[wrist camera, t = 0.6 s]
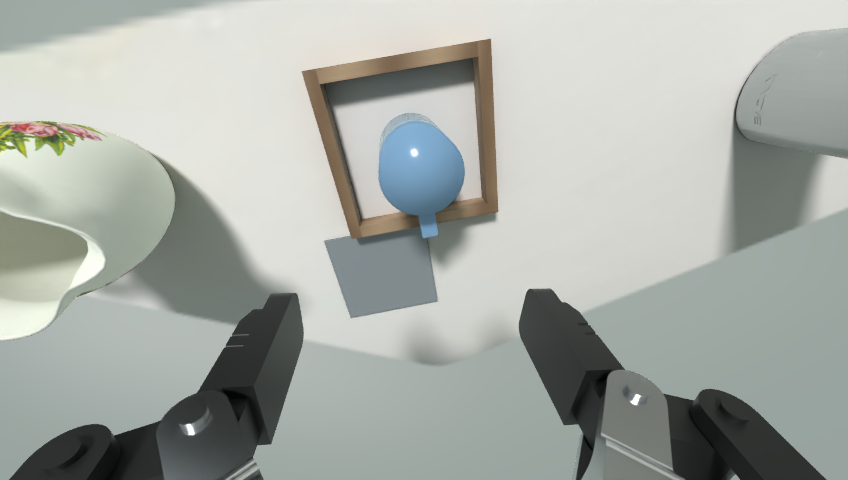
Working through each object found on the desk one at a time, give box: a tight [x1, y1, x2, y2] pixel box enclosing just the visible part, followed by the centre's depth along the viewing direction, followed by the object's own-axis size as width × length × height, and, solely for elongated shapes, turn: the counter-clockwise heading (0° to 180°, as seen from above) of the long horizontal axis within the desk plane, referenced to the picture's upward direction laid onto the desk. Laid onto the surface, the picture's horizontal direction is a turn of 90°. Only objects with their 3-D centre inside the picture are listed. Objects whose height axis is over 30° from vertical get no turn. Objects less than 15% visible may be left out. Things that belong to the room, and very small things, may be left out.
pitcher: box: [0, 121, 175, 341], centre depth 21 cm, size 11×18×14 cm, turn 93°
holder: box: [302, 39, 498, 239], centre depth 27 cm, size 14×14×2 cm
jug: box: [379, 113, 465, 238], centre depth 25 cm, size 8×6×9 cm
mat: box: [324, 227, 437, 318], centre depth 34 cm, size 10×10×1 cm
